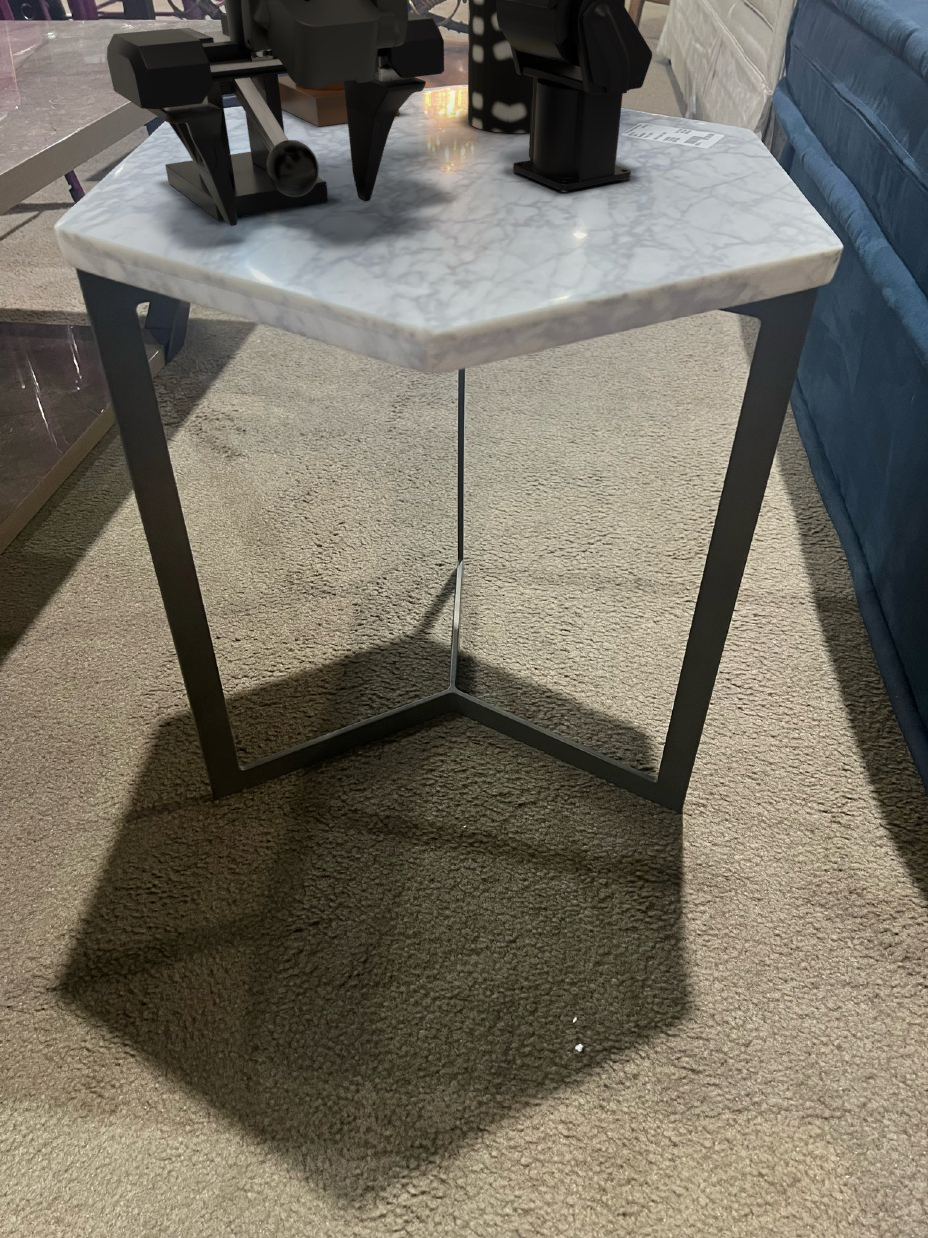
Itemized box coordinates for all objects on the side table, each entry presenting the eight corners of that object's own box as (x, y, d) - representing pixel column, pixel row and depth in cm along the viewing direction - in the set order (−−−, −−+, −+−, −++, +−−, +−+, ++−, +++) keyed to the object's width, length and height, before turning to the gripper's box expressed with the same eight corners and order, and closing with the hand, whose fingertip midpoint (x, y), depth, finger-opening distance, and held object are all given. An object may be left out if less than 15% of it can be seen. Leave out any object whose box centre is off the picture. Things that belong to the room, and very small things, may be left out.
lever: (324, 203, 59) (330, 160, 56) (278, 211, 58) (281, 168, 55) (241, 68, 63) (243, 21, 60) (196, 73, 62) (195, 26, 59)
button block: (399, 115, 83) (397, 63, 81) (318, 126, 80) (313, 73, 77) (348, 94, 90) (345, 46, 87) (272, 104, 86) (266, 54, 84)
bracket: (328, 201, 64) (313, 35, 58) (218, 220, 61) (189, 47, 54) (270, 166, 70) (252, 14, 64) (168, 183, 67) (137, 24, 61)
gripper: (138, -81, 40) (203, 280, 50) (498, -95, 47) (491, 221, 58) (70, -96, 47) (140, 223, 57) (393, -106, 55) (403, 177, 65)
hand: (299, 211), depth 59 cm, fingers open, 9 cm apart
